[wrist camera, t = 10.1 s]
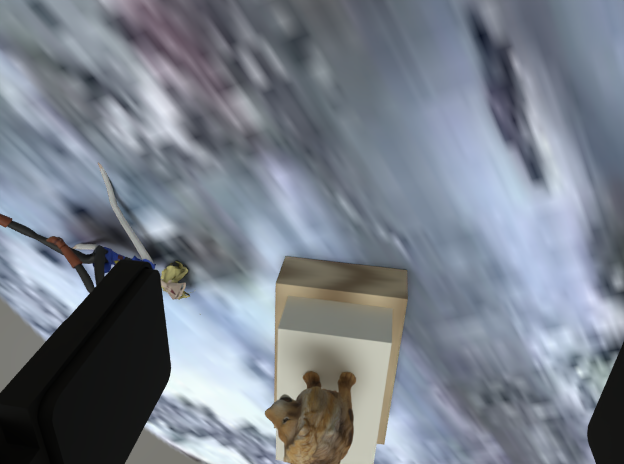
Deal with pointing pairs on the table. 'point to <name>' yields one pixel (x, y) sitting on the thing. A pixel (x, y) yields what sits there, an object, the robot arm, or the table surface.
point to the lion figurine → (315, 421)
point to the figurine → (105, 252)
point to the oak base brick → (350, 289)
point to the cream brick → (337, 360)
